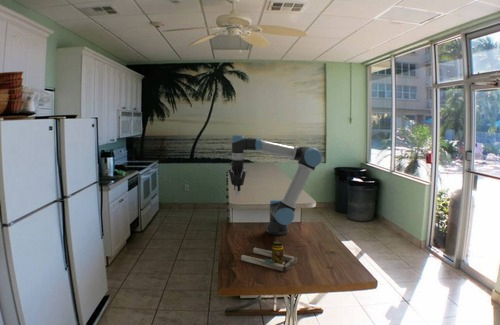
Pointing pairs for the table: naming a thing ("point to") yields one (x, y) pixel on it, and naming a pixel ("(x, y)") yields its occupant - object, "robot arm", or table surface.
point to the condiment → (277, 252)
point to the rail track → (270, 263)
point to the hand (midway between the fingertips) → (237, 195)
